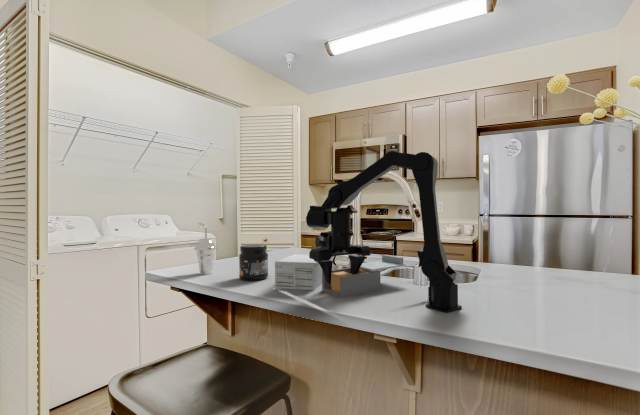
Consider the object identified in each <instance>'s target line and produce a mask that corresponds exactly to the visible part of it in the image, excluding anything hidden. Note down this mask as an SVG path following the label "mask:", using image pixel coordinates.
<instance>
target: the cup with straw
mask: <svg viewBox="0 0 640 415" xmlns="http://www.w3.org/2000/svg"><path fill="white" fill-rule="evenodd" d="M198 225H200V226H201V227H202V226H203V227H204V238H202V239H200V240H199V241H198V242H197V243H196V246H195V247H194V249H193V250H194V251H196V256H197V260H198V270H199V275H202V274H206V275H211V274H213V272H212V271H213V269H214V268H213V266H214V257H215V252H216V251H215V250H216V249H217V246H216V245H215V242H214V241H213V240H212V239H210V238H208V234H207V233H208V231H207V230H208V228H207V225H206V224H204V223H201V222H198ZM210 273H211V274H210Z"/></svg>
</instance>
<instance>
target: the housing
mask: <svg viewBox="0 0 640 415" xmlns="http://www.w3.org/2000/svg"><path fill="white" fill-rule="evenodd" d="M342 271H344V272H347V273H351V267H350V268H348V267H345V268H339V269H332V273H335V272H342ZM381 287H382V286H381V270H378V271H372V272H366V273H360V274H353V275H347V276H341V277H340V293H339V292H336V291H333V290H331V281H330V284H328V283H327V282H326V279H325V276H324V273H323V271H322V284H321V290H322V291H323V292H324V293H325V292H326V293H328V294H330V295H334V296H336V297H339V298H342V299H344V298H348V297H353V296H354V297H355V296H357V295H363V294H369V293H373V292H379V291H381V290H382V289H381Z"/></svg>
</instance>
